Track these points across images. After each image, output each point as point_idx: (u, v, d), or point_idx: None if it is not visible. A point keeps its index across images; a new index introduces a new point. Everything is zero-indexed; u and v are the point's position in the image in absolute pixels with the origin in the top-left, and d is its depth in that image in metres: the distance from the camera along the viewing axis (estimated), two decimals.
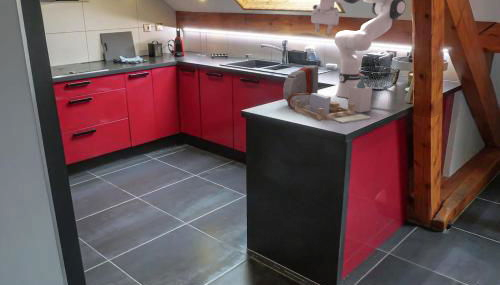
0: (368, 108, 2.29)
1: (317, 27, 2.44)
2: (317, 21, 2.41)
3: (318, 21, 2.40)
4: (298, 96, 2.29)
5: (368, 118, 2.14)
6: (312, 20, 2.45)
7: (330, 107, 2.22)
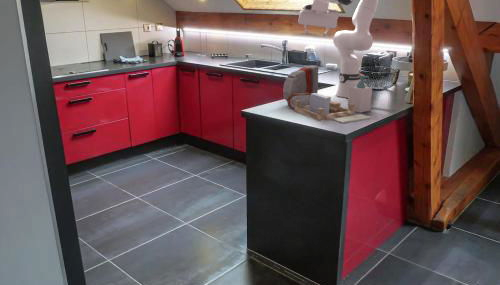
0: (368, 108, 2.29)
1: None
2: (309, 23, 2.19)
3: (311, 23, 2.19)
4: (298, 96, 2.29)
5: (368, 118, 2.14)
6: (301, 21, 2.19)
7: (331, 107, 2.21)
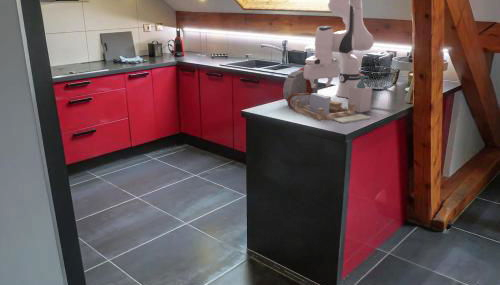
0: (368, 108, 2.29)
1: None
2: (317, 77, 2.11)
3: (319, 76, 2.12)
4: (298, 96, 2.29)
5: (368, 118, 2.14)
6: (310, 77, 2.09)
7: (333, 107, 2.22)
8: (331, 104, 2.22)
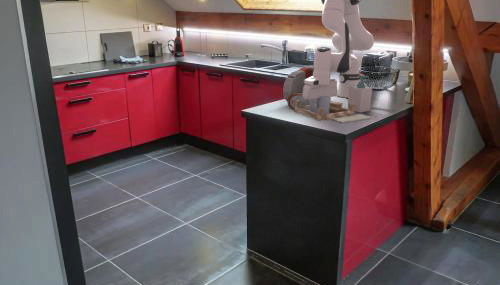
0: (368, 108, 2.29)
1: None
2: (316, 97, 2.15)
3: (317, 96, 2.15)
4: (298, 96, 2.29)
5: (368, 118, 2.14)
6: (309, 97, 2.13)
7: (334, 107, 2.21)
8: (332, 104, 2.22)
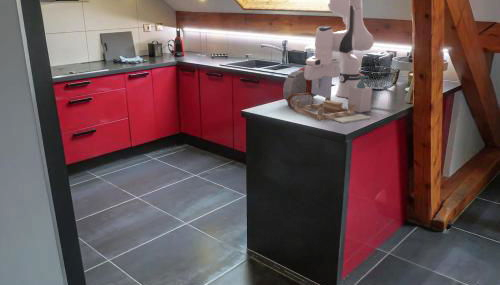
0: (368, 108, 2.29)
1: None
2: (318, 77, 2.12)
3: (319, 77, 2.12)
4: (298, 96, 2.29)
5: (368, 118, 2.14)
6: (311, 77, 2.09)
7: (334, 107, 2.21)
8: (332, 104, 2.22)
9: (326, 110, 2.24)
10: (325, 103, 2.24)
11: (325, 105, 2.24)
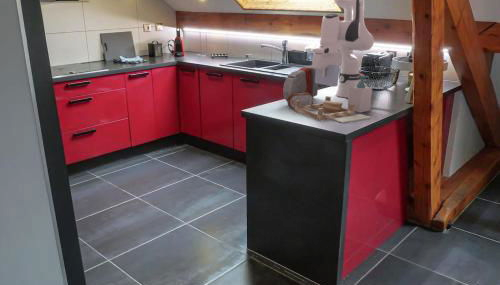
0: (368, 108, 2.29)
1: None
2: (325, 66, 2.08)
3: (326, 65, 2.08)
4: (298, 96, 2.29)
5: (368, 118, 2.14)
6: (319, 66, 2.05)
7: (334, 107, 2.21)
8: (332, 104, 2.21)
9: (326, 110, 2.24)
10: (325, 104, 2.23)
11: (325, 106, 2.23)
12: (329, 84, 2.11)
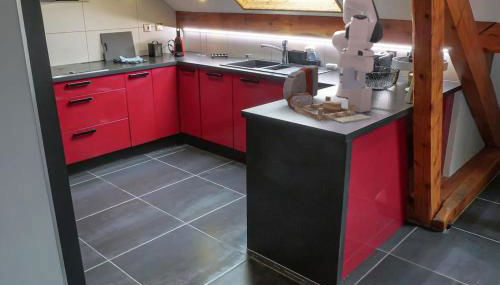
0: (368, 108, 2.29)
1: None
2: None
3: None
4: (298, 96, 2.29)
5: (368, 118, 2.14)
6: None
7: (335, 107, 2.21)
8: (332, 105, 2.21)
9: (326, 110, 2.24)
10: (325, 104, 2.23)
11: (325, 106, 2.23)
12: (360, 86, 2.08)
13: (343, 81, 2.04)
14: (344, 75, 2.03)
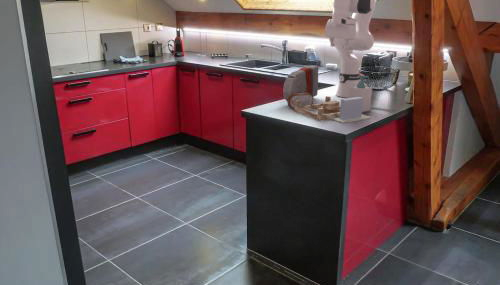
0: (368, 108, 2.29)
1: None
2: None
3: None
4: (298, 96, 2.29)
5: (368, 118, 2.14)
6: None
7: (336, 106, 2.24)
8: (335, 104, 2.22)
9: (327, 111, 2.22)
10: (330, 105, 2.20)
11: (330, 107, 2.20)
12: (357, 116, 2.13)
13: (340, 112, 2.09)
14: (341, 106, 2.08)
